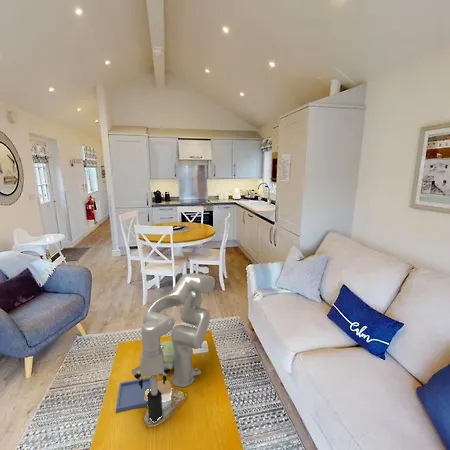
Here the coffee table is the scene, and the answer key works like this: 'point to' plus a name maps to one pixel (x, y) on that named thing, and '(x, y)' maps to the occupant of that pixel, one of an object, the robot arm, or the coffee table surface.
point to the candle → (154, 400)
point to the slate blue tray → (132, 395)
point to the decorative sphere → (168, 353)
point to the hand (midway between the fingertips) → (153, 384)
